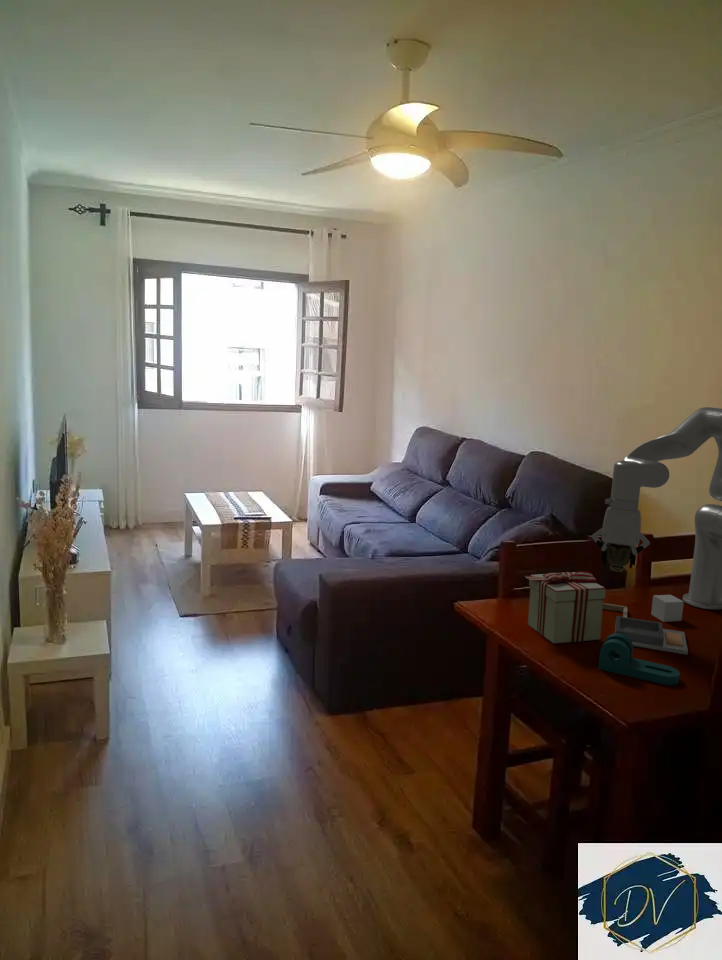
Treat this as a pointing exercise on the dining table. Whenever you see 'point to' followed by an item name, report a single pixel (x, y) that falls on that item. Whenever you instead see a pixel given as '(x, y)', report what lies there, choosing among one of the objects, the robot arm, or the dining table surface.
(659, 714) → the dining table surface
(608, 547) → the cup
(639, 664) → the bracket
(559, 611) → the gift box
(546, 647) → the dining table surface
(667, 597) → the white cube
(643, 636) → the grey flat rectangular tray
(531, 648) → the dining table surface
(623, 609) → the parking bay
